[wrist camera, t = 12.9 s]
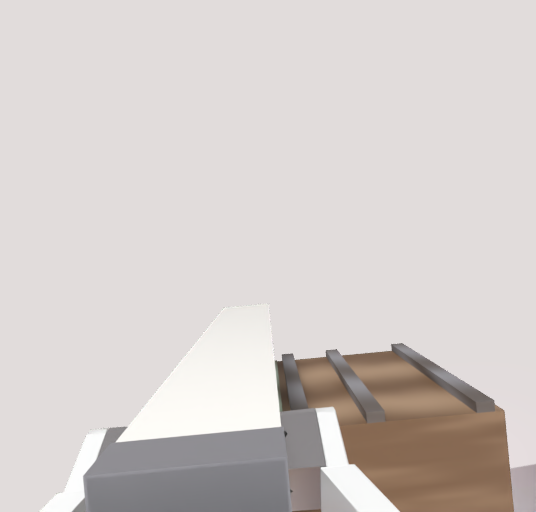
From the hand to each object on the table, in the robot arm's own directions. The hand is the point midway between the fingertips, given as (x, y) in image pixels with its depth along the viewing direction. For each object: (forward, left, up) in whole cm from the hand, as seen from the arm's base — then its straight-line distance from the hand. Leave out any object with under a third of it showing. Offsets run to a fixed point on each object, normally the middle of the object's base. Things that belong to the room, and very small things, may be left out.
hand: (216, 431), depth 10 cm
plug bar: (+5, -6, -2) cm, 8 cm away
